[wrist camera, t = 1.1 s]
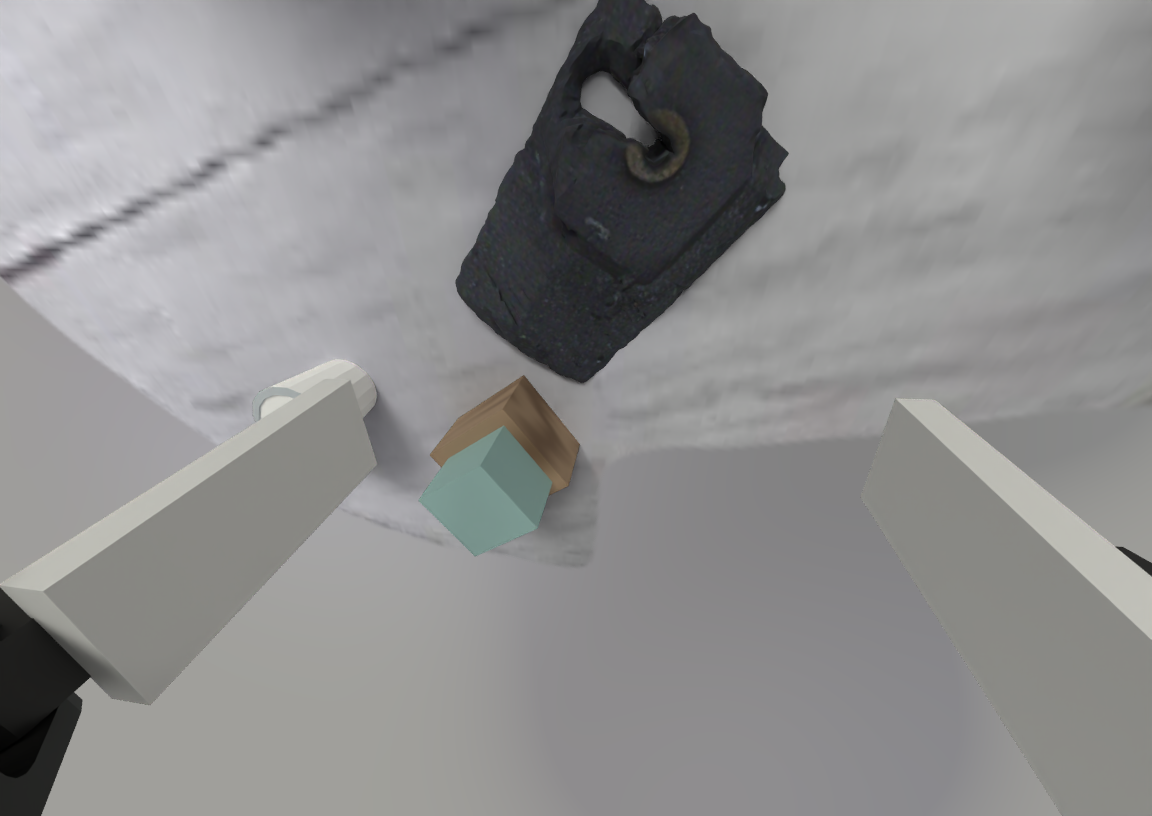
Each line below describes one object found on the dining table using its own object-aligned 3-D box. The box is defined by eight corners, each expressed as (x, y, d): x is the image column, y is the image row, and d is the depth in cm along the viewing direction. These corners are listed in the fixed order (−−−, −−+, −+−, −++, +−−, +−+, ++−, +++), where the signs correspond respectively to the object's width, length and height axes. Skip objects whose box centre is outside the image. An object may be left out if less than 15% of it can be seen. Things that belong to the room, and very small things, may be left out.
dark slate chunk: (434, 268, 33) (403, 282, 29) (633, -45, 23) (628, -92, 19) (582, 393, 36) (573, 421, 32) (814, 165, 26) (844, 164, 22)
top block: (448, 458, 34) (418, 500, 30) (503, 425, 32) (480, 465, 27) (496, 509, 36) (475, 556, 31) (552, 482, 33) (537, 528, 29)
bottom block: (459, 417, 39) (429, 455, 34) (524, 374, 36) (502, 408, 31) (514, 478, 42) (494, 522, 37) (580, 443, 39) (568, 485, 33)
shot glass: (384, 427, 41) (338, 471, 35) (316, 409, 41) (259, 450, 35) (382, 363, 38) (330, 400, 31) (308, 344, 38) (242, 377, 32)
